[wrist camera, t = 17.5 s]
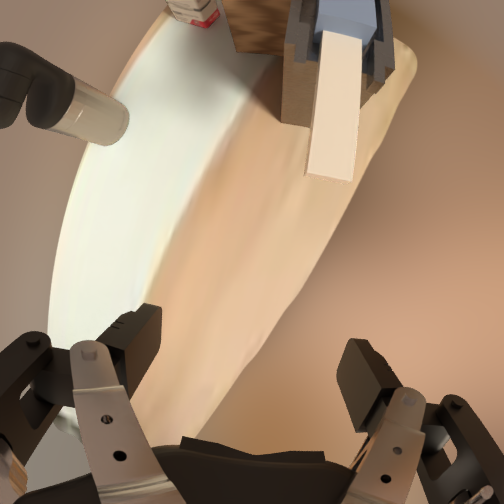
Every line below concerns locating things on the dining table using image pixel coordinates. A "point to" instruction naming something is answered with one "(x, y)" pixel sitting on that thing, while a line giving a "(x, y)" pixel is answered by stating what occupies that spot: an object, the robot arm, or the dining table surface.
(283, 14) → the stand
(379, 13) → the tray
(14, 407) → the robot arm
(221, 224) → the dining table surface
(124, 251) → the dining table surface
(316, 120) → the cream rectangular block
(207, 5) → the ink box
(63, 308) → the dining table surface
